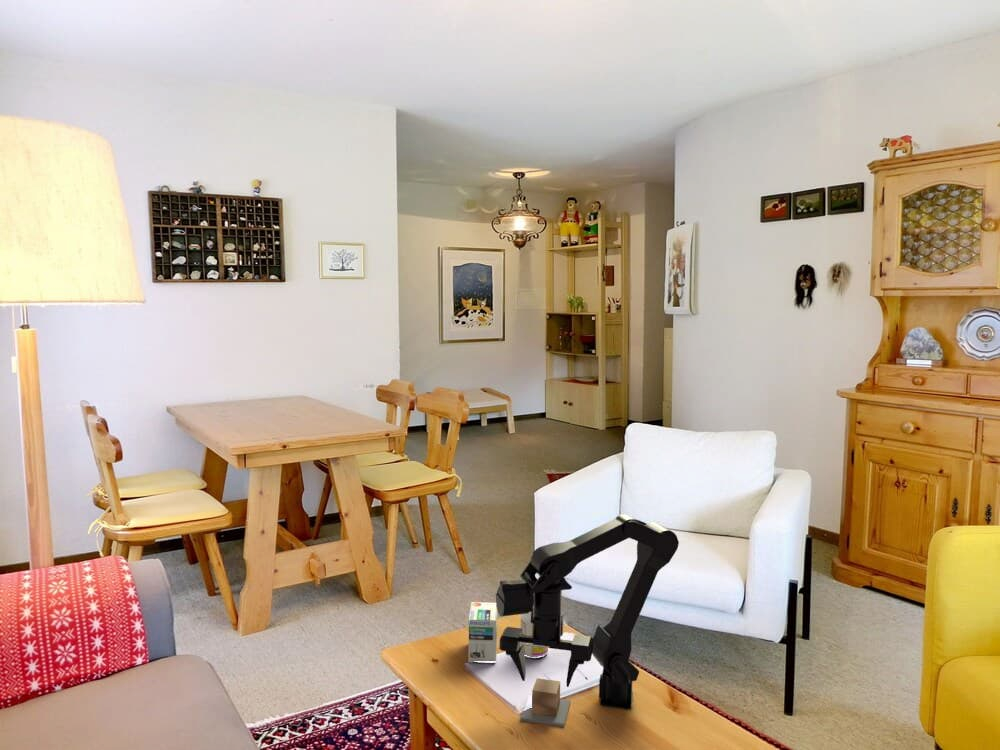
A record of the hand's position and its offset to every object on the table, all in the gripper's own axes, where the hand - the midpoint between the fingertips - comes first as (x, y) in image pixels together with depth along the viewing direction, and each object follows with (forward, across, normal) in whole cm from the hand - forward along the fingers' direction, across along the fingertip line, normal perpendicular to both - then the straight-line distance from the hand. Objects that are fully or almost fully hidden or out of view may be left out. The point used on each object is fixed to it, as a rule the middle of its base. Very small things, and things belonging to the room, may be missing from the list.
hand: (545, 683), depth 148 cm
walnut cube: (+6, 0, 0) cm, 6 cm away
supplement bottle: (+6, +7, -24) cm, 26 cm away
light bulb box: (+6, +19, -21) cm, 29 cm away
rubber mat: (+6, 0, 0) cm, 6 cm away
